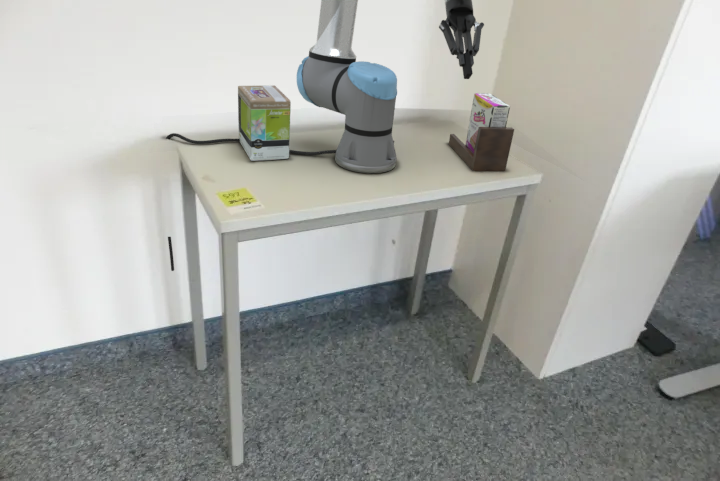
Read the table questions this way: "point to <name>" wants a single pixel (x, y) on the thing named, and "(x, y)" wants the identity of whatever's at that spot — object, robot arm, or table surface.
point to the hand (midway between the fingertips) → (468, 76)
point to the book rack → (486, 149)
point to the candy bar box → (485, 116)
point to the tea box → (264, 122)
